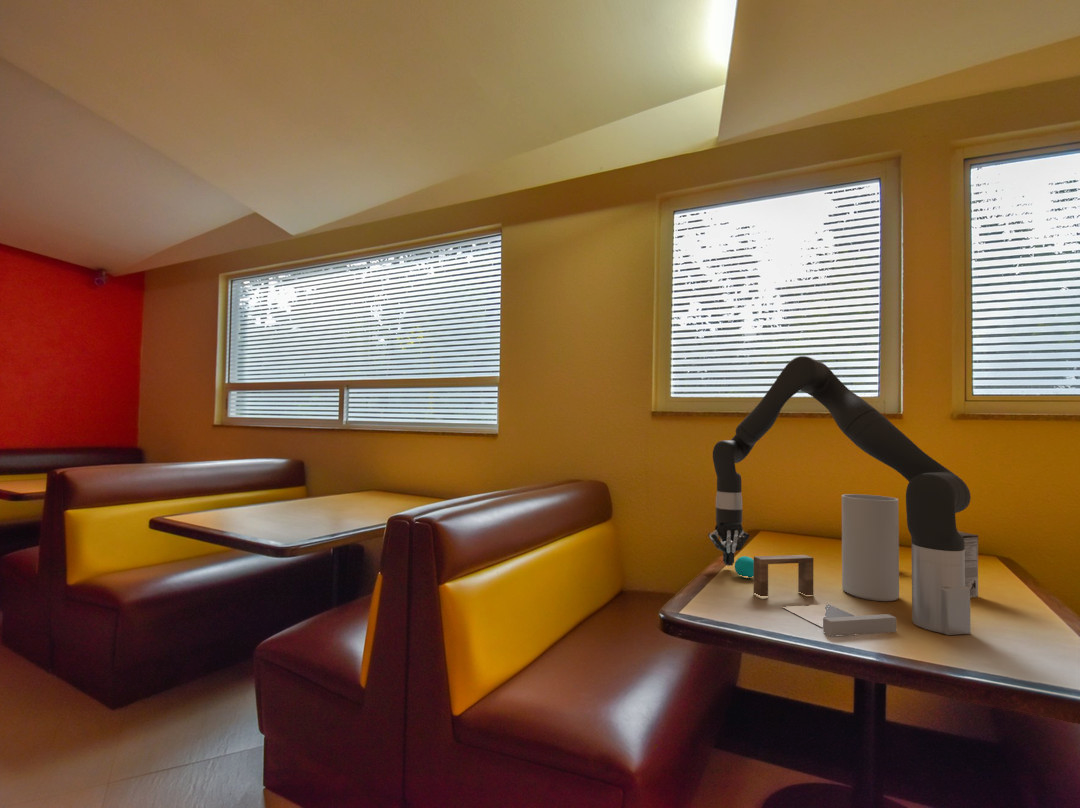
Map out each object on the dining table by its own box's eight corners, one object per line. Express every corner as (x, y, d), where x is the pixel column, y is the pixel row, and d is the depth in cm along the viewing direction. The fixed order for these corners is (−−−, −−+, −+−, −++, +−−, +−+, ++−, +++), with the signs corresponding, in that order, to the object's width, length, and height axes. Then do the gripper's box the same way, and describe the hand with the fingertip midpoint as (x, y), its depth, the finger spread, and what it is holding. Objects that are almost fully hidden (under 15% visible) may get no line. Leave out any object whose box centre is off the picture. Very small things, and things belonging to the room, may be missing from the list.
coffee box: (926, 588, 142) (925, 528, 143) (942, 586, 144) (941, 527, 145) (963, 599, 134) (962, 535, 134) (979, 597, 136) (978, 534, 137)
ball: (761, 580, 146) (761, 558, 146) (742, 581, 145) (742, 559, 145) (748, 574, 152) (749, 553, 152) (730, 575, 151) (730, 554, 151)
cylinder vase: (831, 590, 138) (831, 495, 140) (860, 584, 144) (860, 493, 145) (880, 605, 127) (880, 501, 129) (909, 598, 133) (908, 499, 134)
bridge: (813, 596, 133) (813, 557, 133) (760, 599, 130) (761, 559, 130) (805, 592, 136) (805, 554, 136) (753, 595, 133) (753, 556, 133)
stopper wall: (896, 631, 110) (896, 617, 110) (830, 636, 107) (830, 621, 107) (888, 628, 112) (887, 614, 112) (823, 632, 109) (823, 618, 109)
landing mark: (872, 624, 114) (872, 623, 114) (820, 627, 111) (820, 626, 111) (827, 604, 127) (827, 603, 127) (780, 607, 124) (780, 606, 124)
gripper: (715, 508, 153) (715, 569, 152) (756, 508, 156) (756, 567, 155) (702, 505, 160) (702, 562, 159) (741, 504, 163) (741, 561, 162)
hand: (728, 564), depth 157 cm, fingers closed
